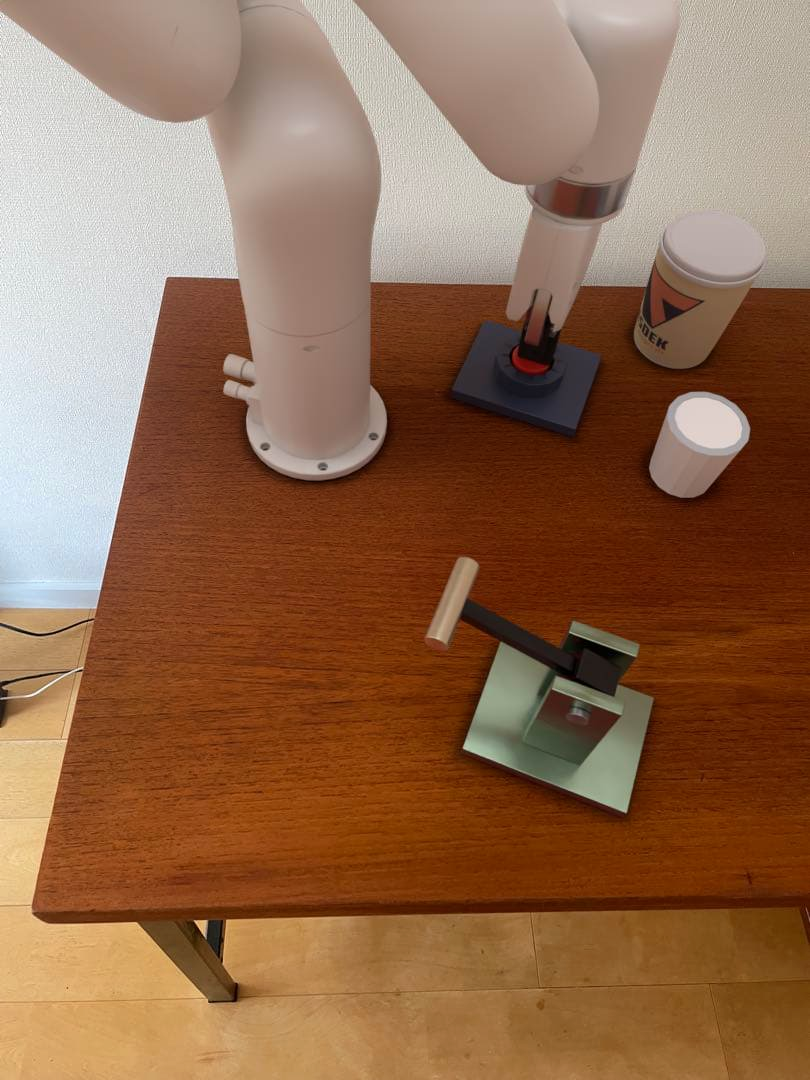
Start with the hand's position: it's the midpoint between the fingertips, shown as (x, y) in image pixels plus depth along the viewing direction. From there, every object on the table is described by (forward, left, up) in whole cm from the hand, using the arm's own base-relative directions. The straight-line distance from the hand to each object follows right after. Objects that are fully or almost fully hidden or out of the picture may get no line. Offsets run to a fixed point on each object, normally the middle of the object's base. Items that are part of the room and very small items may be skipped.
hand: (535, 355), depth 74 cm
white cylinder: (+16, -5, -4) cm, 17 cm away
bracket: (+12, -32, -3) cm, 34 cm away
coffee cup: (+12, +11, -4) cm, 16 cm away
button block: (0, 0, -3) cm, 3 cm away
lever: (+7, -32, +7) cm, 34 cm away
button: (0, 0, -2) cm, 2 cm away
